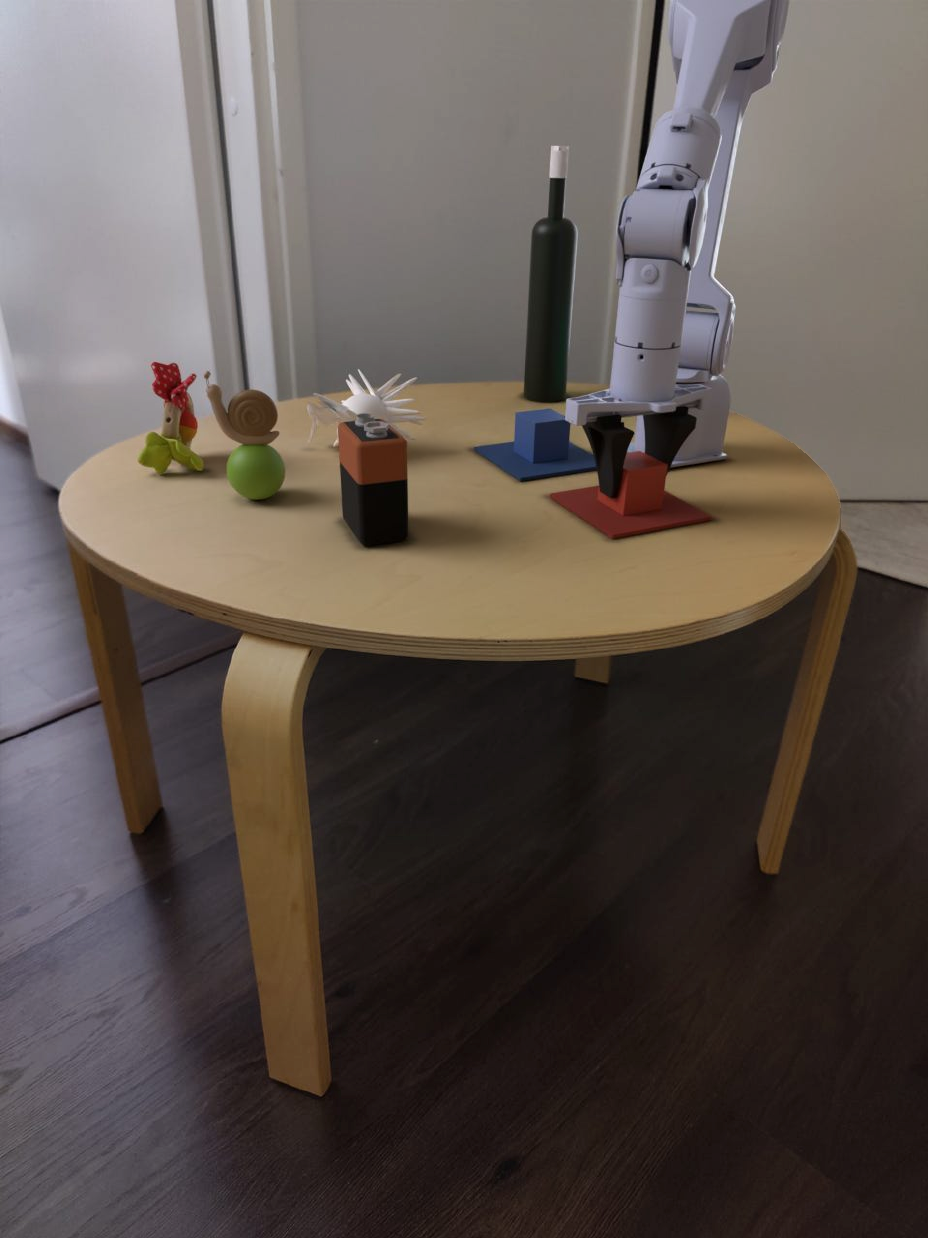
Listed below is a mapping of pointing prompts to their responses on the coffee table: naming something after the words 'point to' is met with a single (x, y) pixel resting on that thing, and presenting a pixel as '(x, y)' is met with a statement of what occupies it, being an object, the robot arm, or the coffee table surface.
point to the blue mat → (529, 471)
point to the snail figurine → (250, 441)
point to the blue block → (541, 435)
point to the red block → (638, 485)
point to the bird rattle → (172, 422)
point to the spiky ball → (365, 407)
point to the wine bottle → (551, 292)
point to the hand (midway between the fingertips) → (630, 490)
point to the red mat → (621, 526)
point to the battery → (373, 480)
